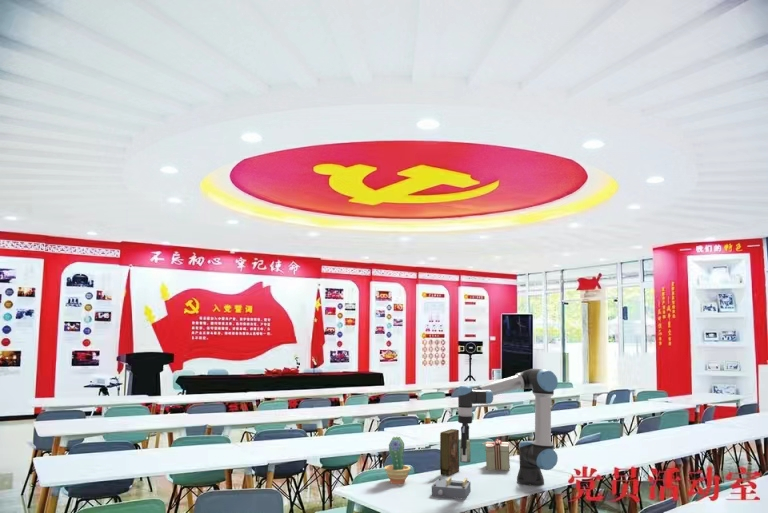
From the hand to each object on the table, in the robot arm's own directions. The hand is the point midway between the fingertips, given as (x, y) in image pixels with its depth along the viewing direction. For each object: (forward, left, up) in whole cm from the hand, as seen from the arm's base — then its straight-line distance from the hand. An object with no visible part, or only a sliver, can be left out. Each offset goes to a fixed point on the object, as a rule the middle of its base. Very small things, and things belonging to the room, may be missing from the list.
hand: (465, 460), depth 303 cm
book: (+16, -45, -18) cm, 51 cm away
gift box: (-9, -69, -18) cm, 72 cm away
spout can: (0, 0, -1) cm, 1 cm away
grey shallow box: (+7, +2, -18) cm, 19 cm away
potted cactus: (+41, -14, -18) cm, 47 cm away
